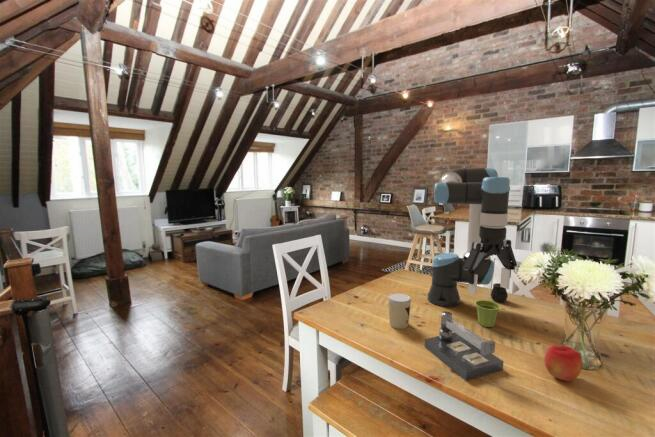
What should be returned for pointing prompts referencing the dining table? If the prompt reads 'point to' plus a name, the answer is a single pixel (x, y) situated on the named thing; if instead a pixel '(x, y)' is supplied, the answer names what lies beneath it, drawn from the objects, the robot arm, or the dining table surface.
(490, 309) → the plant pot
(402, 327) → the coffee cup
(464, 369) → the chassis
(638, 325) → the dining table surface
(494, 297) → the mate gourd
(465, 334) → the grey bar
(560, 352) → the apple
